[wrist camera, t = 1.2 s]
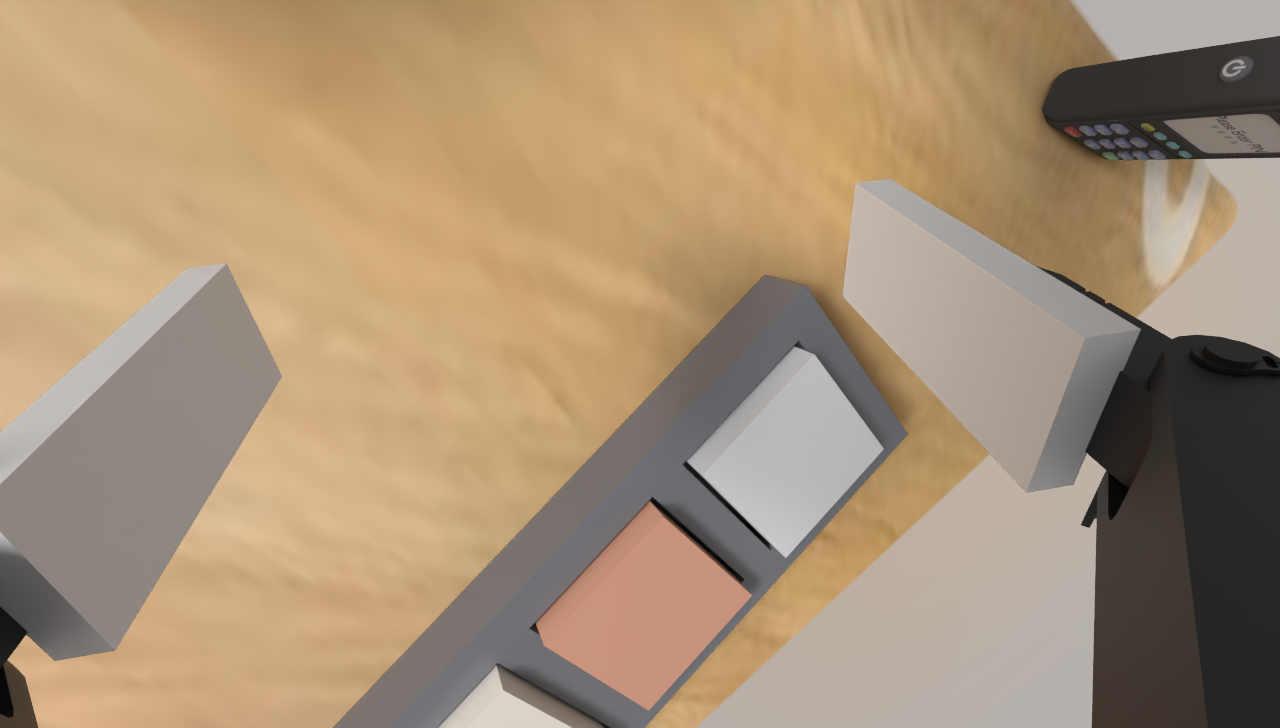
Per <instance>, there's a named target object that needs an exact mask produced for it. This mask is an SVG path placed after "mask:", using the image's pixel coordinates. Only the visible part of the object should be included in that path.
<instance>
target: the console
mask: <svg viewBox="0 0 1280 728" xmlns="http://www.w3.org/2000/svg"><path fill="white" fill-rule="evenodd" d="M793 346H795V347H797V348H800V349H802V350H805V351H807V352H810V353H812V354H815V356H816V357H817V358H818V360H819V361H820V362H821V364H822V365H823V367H824V368H825V369H826V371H827V372H828V373H829V375H830V376H831V377H832V379H833V380H834V382H835V383H836V384H837V386H838V387H839V388H840V390H841V391H842V392H843V394H844V395H845V397H846V398H847V399H848V401H849V402H850V403H851V405H852V406H853V407H854V409H855V410H856V412H857V413H858V414H859V416H860V417H861V418H862V420H863V421H864V422H865V424H866V425H867V427H868V428H869V429H870V431H871V432H872V433H873V435H874V436H875V437H876V439H877V440H878V442H879V443H880V444H881V446H882V447H883V448H884V450H883V451H882V452H881V453H880V454H879V455H878V456H877V457H876V459H875V460H874V461H873V462H872V463H871V464H870V465H869V466H868V467H867V469H866V470H865V471H864V472H863V473H862V474H861V475H860V476H859V477H858V479H857V480H856V481H855V482H854V483H853V484H852V485H851V486H850V487H849V489H848V490H847V491H846V492H845V493H844V494H843V495H842V496H841V497H840V499H839V500H838V501H837V502H836V503H835V504H834V505H833V506H832V507H831V509H830V510H829V511H828V512H827V513H826V514H825V515H824V516H823V517H822V519H821V520H820V521H819V522H818V523H817V524H816V525H815V526H814V527H813V529H812V530H811V531H810V532H809V533H808V534H807V535H806V536H805V537H804V539H803V540H802V541H801V542H800V543H799V544H798V545H797V546H796V547H795V549H794V550H793V551H792V552H791V553H790V554H789V555H788V556H787V557H786V558H785V557H784V556H783V555H782V554H781V553H780V552H779V551H778V550H777V549H775V548H774V547H773V546H772V545H771V544H770V543H769V542H768V541H767V540H766V539H765V538H763V537H762V536H761V535H760V534H759V533H758V532H757V531H756V530H755V529H754V528H753V527H752V526H751V525H750V524H749V523H748V522H747V521H746V520H745V519H744V518H743V517H742V516H741V515H740V514H739V513H738V512H737V511H736V510H735V509H734V508H733V507H732V506H731V505H730V504H729V503H728V502H727V501H726V500H725V499H724V498H723V497H721V496H720V495H719V494H718V493H717V492H716V491H715V490H714V489H713V488H712V487H711V486H710V485H709V484H708V483H707V482H706V481H705V480H704V479H703V478H702V477H701V476H700V475H699V474H698V473H697V472H696V471H695V470H694V469H693V468H692V467H691V466H690V465H689V464H688V463H687V462H686V460H687V459H688V458H689V457H690V456H691V455H692V454H693V453H694V452H695V451H696V450H697V449H698V447H699V446H700V445H701V444H702V443H703V442H704V441H705V440H706V439H707V438H708V437H709V436H710V435H711V434H712V432H713V431H714V430H715V429H716V428H717V427H718V426H719V425H720V424H721V423H722V422H723V421H724V420H725V419H726V418H727V416H728V415H729V414H730V413H731V412H732V411H733V410H734V409H735V408H736V407H737V406H738V405H739V404H740V403H741V401H742V400H743V399H744V398H745V397H746V396H747V395H748V394H749V393H750V392H751V391H752V390H753V389H754V388H755V386H756V385H757V384H758V383H759V382H760V381H761V380H762V379H763V378H764V377H765V376H766V375H767V374H768V373H769V371H770V370H771V369H772V368H773V367H774V366H775V365H776V364H777V363H778V362H779V361H780V360H781V359H782V358H783V357H784V355H785V354H786V353H787V352H788V351H789V350H790V349H791V348H792V347H793ZM907 435H908V433H907V432H906V431H905V429H904V428H903V426H902V425H901V423H900V422H899V420H898V419H897V417H896V416H895V415H894V413H893V412H892V410H891V409H890V407H889V406H888V404H887V403H886V401H885V400H884V399H883V397H882V396H881V394H880V393H879V391H878V390H877V388H876V387H875V385H874V384H873V383H872V381H871V380H870V378H869V377H868V375H867V374H866V372H865V371H864V369H863V368H862V367H861V365H860V364H859V362H858V361H857V359H856V358H855V356H854V355H853V353H852V352H851V351H850V349H849V348H848V346H847V345H846V343H845V342H844V340H843V339H842V337H841V336H840V334H839V333H838V332H837V330H836V329H835V327H834V326H833V324H832V323H831V321H830V320H829V318H828V317H827V316H826V314H825V313H824V311H823V310H822V308H821V307H820V305H819V304H818V302H817V301H816V300H815V298H814V297H813V295H812V294H811V292H810V291H809V289H808V288H807V286H806V285H802V284H798V283H794V282H790V281H786V280H782V279H778V278H774V277H770V276H766V275H764V276H763V277H762V278H761V279H760V280H759V281H758V282H757V283H756V284H755V286H754V287H753V288H752V289H751V290H750V291H749V292H748V293H747V294H746V295H745V296H744V297H743V298H742V299H741V300H740V301H739V302H738V303H737V304H736V305H735V307H734V308H733V309H732V310H731V311H730V312H729V313H728V314H727V315H726V316H725V317H724V318H723V319H722V320H721V321H720V322H719V323H718V324H717V325H716V326H715V327H714V329H713V330H712V331H711V332H710V333H709V334H708V335H707V336H706V337H705V338H704V339H703V340H702V341H701V342H700V343H699V344H698V345H697V346H696V347H695V348H694V350H693V351H692V352H691V353H690V354H689V355H688V356H687V357H686V358H685V359H684V360H683V361H682V362H681V363H680V364H679V365H678V366H677V367H676V368H675V369H674V371H673V372H672V373H671V374H670V375H669V376H668V377H667V378H666V379H665V380H664V381H663V382H662V383H661V384H660V385H659V386H658V387H657V388H656V389H655V390H654V392H653V393H652V394H651V395H650V396H649V397H648V398H647V399H646V400H645V401H644V402H643V403H642V404H641V405H640V406H639V407H638V408H637V409H636V410H635V411H634V412H633V414H632V415H631V416H630V417H629V418H628V419H627V420H626V421H625V422H624V423H623V424H622V425H621V426H620V427H619V428H618V429H617V430H616V431H615V432H614V433H613V435H612V436H611V437H610V438H609V439H608V440H607V441H606V442H605V443H604V444H603V445H602V446H601V447H600V448H599V449H598V450H597V451H596V452H595V453H594V454H593V456H592V457H591V458H590V459H589V460H588V461H587V462H586V463H585V464H584V465H583V466H582V467H581V468H580V469H579V470H578V471H577V472H576V473H575V474H574V475H573V476H572V478H571V479H570V480H569V481H568V482H567V483H566V484H565V485H564V486H563V487H562V488H561V489H560V490H559V491H558V492H557V493H556V494H555V495H554V496H553V497H552V499H551V500H550V501H549V502H548V503H547V504H546V505H545V506H544V507H543V508H542V509H541V510H540V511H539V512H538V513H537V514H536V515H535V516H534V517H533V518H532V520H531V521H530V522H529V523H528V524H527V525H526V526H525V527H524V528H523V529H522V530H521V531H520V532H519V533H518V534H517V535H516V536H515V537H514V538H513V539H512V541H511V542H510V543H509V544H508V545H507V546H506V547H505V548H504V549H503V550H502V551H501V552H500V553H499V554H498V555H497V556H496V557H495V558H494V559H493V560H492V561H491V563H490V564H489V565H488V566H487V567H486V568H485V569H484V570H483V571H482V572H481V573H480V574H479V575H478V576H477V577H476V578H475V579H474V580H473V581H472V582H471V584H470V585H469V586H468V587H467V588H466V589H465V590H464V591H463V592H462V593H461V594H460V595H459V596H458V597H457V598H456V599H455V600H454V601H453V602H452V603H451V605H450V606H449V607H448V608H447V609H446V610H445V611H444V612H443V613H442V614H441V615H440V616H439V617H438V618H437V619H436V620H435V621H434V622H433V623H432V624H431V625H430V627H429V628H428V629H427V630H426V631H425V632H424V633H423V634H422V635H421V636H420V637H419V638H418V639H417V640H416V641H415V642H414V643H413V644H412V645H411V646H410V648H409V649H408V650H407V651H406V652H405V653H404V654H403V655H402V656H401V657H400V658H399V659H398V660H397V661H396V662H395V663H394V664H393V665H392V666H391V667H390V669H389V670H388V671H387V672H386V673H385V674H384V675H383V676H382V677H381V678H380V679H379V680H378V681H377V682H376V683H375V684H374V685H373V686H372V687H371V688H370V690H369V691H368V692H367V693H366V694H365V695H364V696H363V697H362V698H361V699H360V700H359V701H358V702H357V703H356V704H355V705H354V706H353V707H352V708H351V709H350V710H349V712H348V713H347V714H346V715H345V716H344V717H343V718H342V719H341V720H340V721H339V722H338V723H337V724H336V725H335V726H334V727H333V728H437V727H438V726H439V725H440V724H441V722H442V721H443V720H444V719H445V718H446V717H447V716H448V715H449V714H450V713H451V712H452V711H453V710H454V709H455V708H456V706H457V705H458V704H459V703H460V702H461V701H462V700H463V699H464V698H465V697H466V696H467V695H468V694H469V693H470V691H471V690H472V689H473V688H474V687H475V686H476V685H477V684H478V683H479V682H480V681H481V680H482V679H483V678H484V676H485V675H486V674H487V673H488V672H489V671H490V670H491V669H492V668H493V667H494V666H495V665H496V664H497V663H499V664H501V665H502V666H504V667H506V668H508V669H509V670H511V671H513V672H515V673H516V674H518V675H520V676H522V677H523V678H525V679H527V680H529V681H530V682H532V683H534V684H536V685H537V686H539V687H541V688H543V689H544V690H546V691H548V692H550V693H551V694H553V695H555V696H557V697H558V698H560V699H562V700H564V701H565V702H567V703H569V704H571V705H572V706H574V707H576V708H578V709H579V710H581V711H583V712H585V713H586V714H588V715H590V716H592V717H593V718H595V719H597V720H599V721H600V722H601V723H602V725H603V727H604V728H645V727H646V725H647V724H648V723H649V722H650V721H651V720H652V719H653V718H654V717H655V715H656V714H657V713H658V712H659V711H660V710H661V709H662V708H663V707H664V705H665V704H666V703H667V702H668V701H669V700H670V699H671V698H672V697H673V695H674V694H675V693H676V692H677V691H678V690H679V689H680V688H681V686H682V685H683V684H684V683H685V682H686V681H687V680H688V679H689V678H690V676H691V675H692V674H693V673H694V672H695V671H696V670H697V669H698V668H699V666H700V665H701V664H702V663H703V662H704V661H705V660H706V659H707V658H708V656H709V655H710V654H711V653H712V652H713V651H714V650H715V649H716V647H717V646H718V645H719V644H720V643H721V642H722V641H723V640H724V639H725V637H726V636H727V635H728V634H729V633H730V632H731V631H732V630H733V629H734V627H735V626H736V625H737V624H738V623H739V622H740V621H741V620H742V619H743V617H744V616H745V615H746V614H747V613H748V612H749V611H750V610H751V608H752V607H753V606H754V605H755V604H756V603H757V602H758V601H759V600H760V598H761V597H762V596H763V595H764V594H765V593H766V592H767V591H768V590H769V588H770V587H771V586H772V585H773V584H774V583H775V582H776V581H777V580H778V578H779V577H780V576H781V575H782V574H783V573H784V572H785V571H786V569H787V568H788V567H789V566H790V565H791V564H792V563H793V562H794V561H795V559H796V558H797V557H798V556H799V555H800V554H801V553H802V552H803V551H804V549H805V548H806V547H807V546H808V545H809V544H810V543H811V542H812V541H813V539H814V538H815V537H816V536H817V535H818V534H819V533H820V532H821V530H822V529H823V528H824V527H825V526H826V525H827V524H828V523H829V522H830V520H831V519H832V518H833V517H834V516H835V515H836V514H837V513H838V512H839V510H840V509H841V508H842V507H843V506H844V505H845V504H846V503H847V502H848V500H849V499H850V498H851V497H852V496H853V495H854V494H855V493H856V491H857V490H858V489H859V488H860V487H861V486H862V485H863V484H864V483H865V481H866V480H867V479H868V478H869V477H870V476H871V475H872V474H873V473H874V471H875V470H876V469H877V468H878V467H879V466H880V465H881V464H882V462H883V461H884V460H885V459H886V458H887V457H888V456H889V455H890V454H891V452H892V451H893V450H894V449H895V448H896V447H897V446H898V445H899V444H900V442H901V441H902V440H903V439H904V438H905V437H906V436H907ZM650 499H651V500H652V501H653V502H654V503H655V504H656V505H657V506H658V507H660V508H661V509H662V510H663V511H664V512H665V513H666V514H667V515H669V516H670V517H671V518H672V519H673V520H674V521H675V522H676V523H678V524H679V525H680V526H681V527H682V528H683V529H684V530H685V531H687V532H688V533H689V534H690V535H691V536H692V537H693V538H694V539H695V540H697V541H698V542H699V543H700V544H701V545H702V546H703V547H704V548H706V549H707V550H708V551H709V552H710V553H711V554H712V555H713V556H715V557H716V558H717V559H718V560H719V561H720V562H721V563H722V564H724V565H725V566H726V567H727V568H728V569H729V570H730V572H731V573H732V574H733V575H734V576H735V577H736V578H737V579H738V580H739V581H740V582H741V584H742V585H743V586H744V587H745V588H746V589H747V590H748V591H749V592H750V593H751V595H752V596H751V597H750V599H749V600H748V601H747V602H746V603H745V604H744V605H743V606H742V608H741V609H740V610H739V611H738V612H737V613H736V614H735V615H734V616H733V618H732V619H731V620H730V621H729V622H728V623H727V624H726V625H725V626H724V628H723V629H722V630H721V631H720V632H719V633H718V634H717V635H716V636H715V638H714V639H713V640H712V641H711V642H710V643H709V644H708V645H707V646H706V648H705V649H704V650H703V651H702V652H701V653H700V654H699V655H698V656H697V658H696V659H695V660H694V661H693V662H692V663H691V664H690V665H689V666H688V668H687V669H686V670H685V671H684V672H683V673H682V674H681V675H680V676H679V678H678V679H677V680H676V681H675V682H674V683H673V684H672V685H671V686H670V688H669V689H668V690H667V691H666V692H665V693H664V694H663V695H662V696H661V698H660V699H659V700H658V701H657V702H656V703H655V704H654V705H653V706H652V708H651V709H650V710H649V711H648V710H647V709H645V708H644V707H642V706H640V705H639V704H637V703H636V702H634V701H632V700H631V699H629V698H628V697H626V696H624V695H623V694H621V693H619V692H618V691H616V690H615V689H613V688H611V687H610V686H608V685H607V684H605V683H603V682H602V681H600V680H598V679H597V678H595V677H594V676H592V675H590V674H589V673H587V672H586V671H584V670H582V669H581V668H579V667H577V666H576V665H574V664H573V663H571V662H569V661H568V660H566V659H565V658H563V657H561V656H560V655H558V654H556V653H555V652H553V651H552V650H550V649H548V648H547V647H545V646H544V644H543V642H542V639H541V636H540V634H539V631H538V628H537V626H536V623H535V622H536V621H537V620H538V619H539V618H540V617H541V615H542V614H543V613H544V612H545V611H546V610H547V609H548V608H549V607H550V606H551V605H552V604H553V603H554V602H555V600H556V599H557V598H558V597H559V596H560V595H561V594H562V593H563V592H564V591H565V590H566V589H567V588H568V587H569V586H570V584H571V583H572V582H573V581H574V580H575V579H576V578H577V577H578V576H579V575H580V574H581V573H582V572H583V571H584V569H585V568H586V567H587V566H588V565H589V564H590V563H591V562H592V561H593V560H594V559H595V558H596V557H597V556H598V554H599V553H600V552H601V551H602V550H603V549H604V548H605V547H606V546H607V545H608V544H609V543H610V542H611V541H612V540H613V538H614V537H615V536H616V535H617V534H618V533H619V532H620V531H621V530H622V529H623V528H624V527H625V526H626V525H627V523H628V522H629V521H630V520H631V519H632V518H633V517H634V516H635V515H636V514H637V513H638V512H639V511H640V510H641V508H642V507H643V506H644V505H645V504H646V503H647V502H648V501H649V500H650Z"/></svg>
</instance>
